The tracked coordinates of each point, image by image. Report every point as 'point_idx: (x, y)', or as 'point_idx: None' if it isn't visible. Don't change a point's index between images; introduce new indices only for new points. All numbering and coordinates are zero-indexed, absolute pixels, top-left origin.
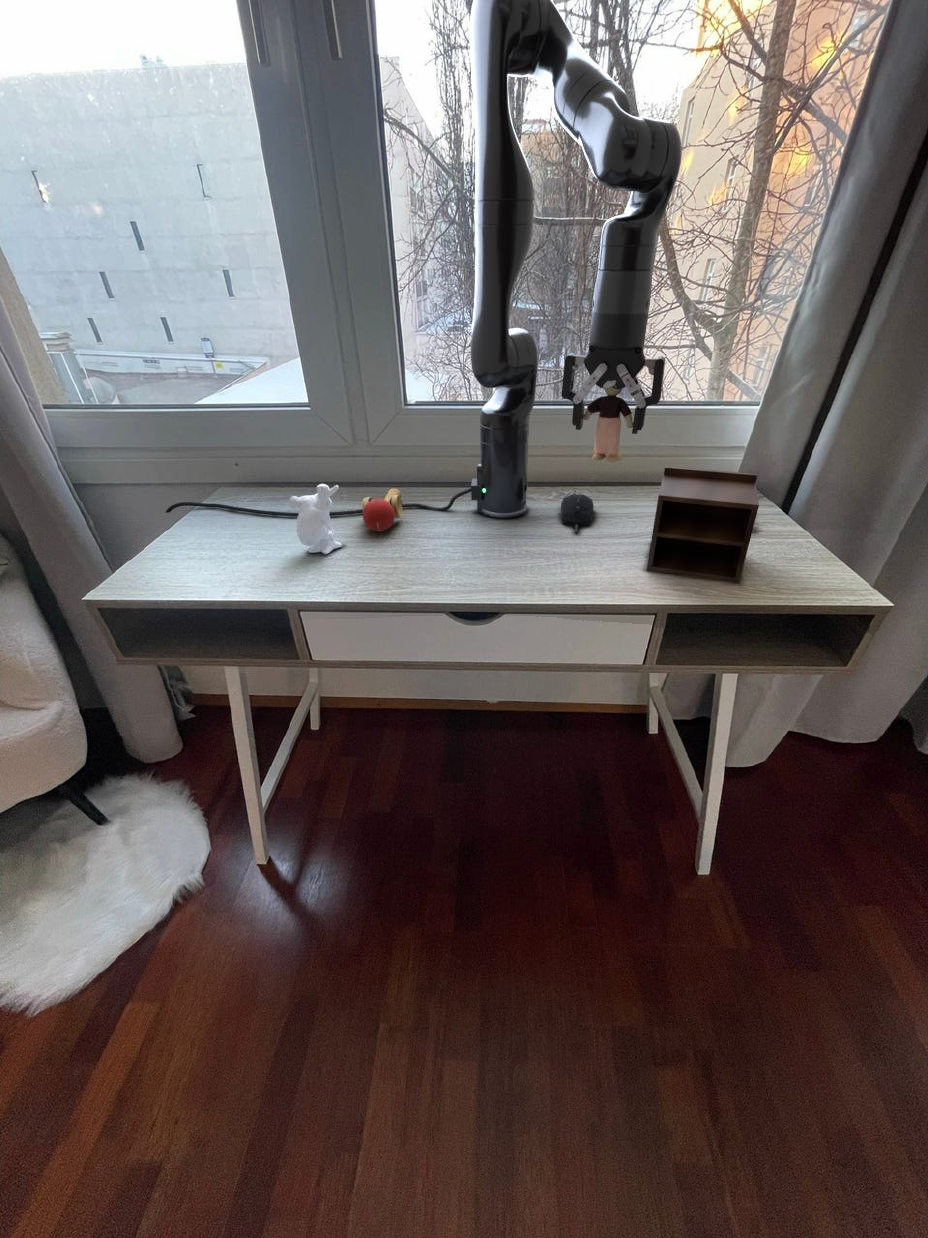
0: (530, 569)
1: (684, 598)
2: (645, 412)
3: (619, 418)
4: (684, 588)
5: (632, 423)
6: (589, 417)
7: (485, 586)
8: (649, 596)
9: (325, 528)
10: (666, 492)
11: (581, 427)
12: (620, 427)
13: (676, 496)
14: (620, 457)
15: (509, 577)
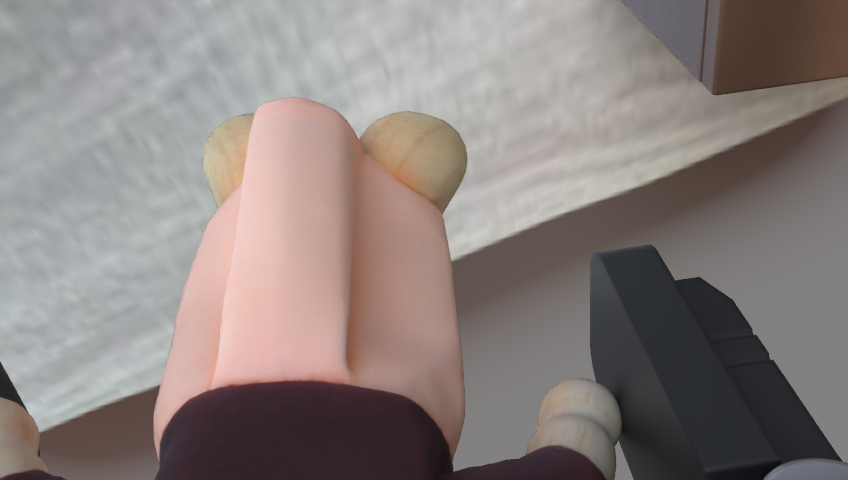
0: (136, 157)
1: (726, 119)
2: (805, 414)
3: (452, 458)
4: None
5: (614, 443)
6: (37, 444)
7: (77, 325)
8: (608, 157)
9: None
10: (765, 27)
11: (9, 395)
12: (461, 368)
13: (823, 77)
14: (458, 181)
15: (106, 243)
